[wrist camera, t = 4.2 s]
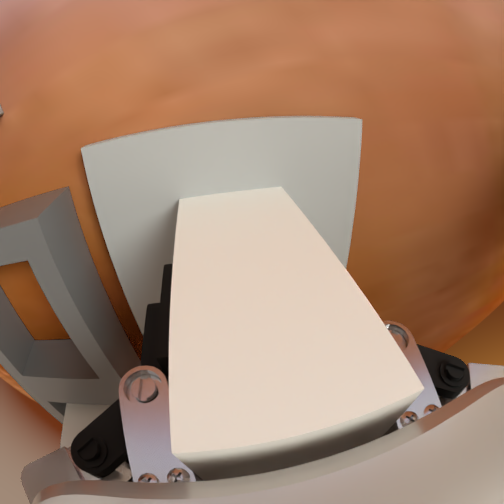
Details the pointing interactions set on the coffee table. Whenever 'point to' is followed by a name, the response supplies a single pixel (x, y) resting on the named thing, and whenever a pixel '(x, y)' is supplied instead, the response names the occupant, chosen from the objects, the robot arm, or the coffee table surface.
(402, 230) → the coffee table surface
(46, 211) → the power strip
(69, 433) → the off-white rectangular block
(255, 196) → the plug
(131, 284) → the mat
